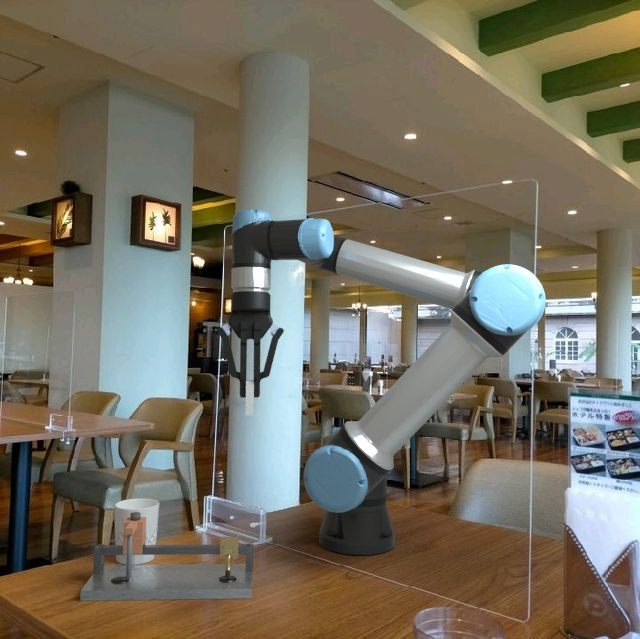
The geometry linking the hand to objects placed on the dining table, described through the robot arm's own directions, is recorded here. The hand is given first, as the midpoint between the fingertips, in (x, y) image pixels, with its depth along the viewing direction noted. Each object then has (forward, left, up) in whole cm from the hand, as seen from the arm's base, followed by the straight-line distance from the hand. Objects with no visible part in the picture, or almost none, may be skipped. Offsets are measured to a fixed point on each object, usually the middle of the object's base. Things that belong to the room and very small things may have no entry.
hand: (249, 414), depth 119 cm
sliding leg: (+18, +14, -24) cm, 34 cm away
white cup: (+20, +2, -26) cm, 33 cm away
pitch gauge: (+11, +15, -26) cm, 32 cm away
